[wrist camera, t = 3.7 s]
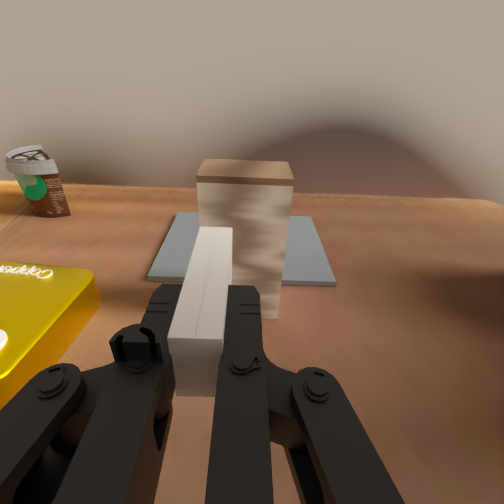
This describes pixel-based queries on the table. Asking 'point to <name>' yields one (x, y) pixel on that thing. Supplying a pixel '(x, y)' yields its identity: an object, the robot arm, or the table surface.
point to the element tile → (40, 318)
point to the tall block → (250, 219)
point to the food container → (38, 181)
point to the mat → (295, 263)
